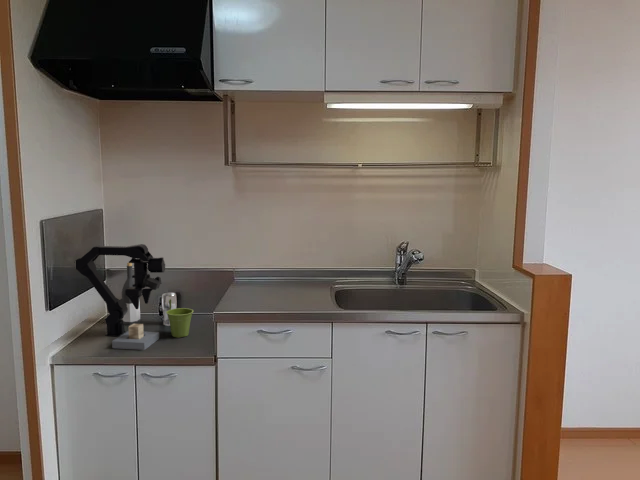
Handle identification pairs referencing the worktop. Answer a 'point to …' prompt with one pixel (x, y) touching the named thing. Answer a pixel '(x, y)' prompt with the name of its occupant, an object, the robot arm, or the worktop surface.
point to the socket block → (135, 341)
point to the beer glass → (168, 305)
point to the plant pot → (180, 321)
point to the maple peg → (136, 331)
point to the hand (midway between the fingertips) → (141, 306)
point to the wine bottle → (132, 313)
